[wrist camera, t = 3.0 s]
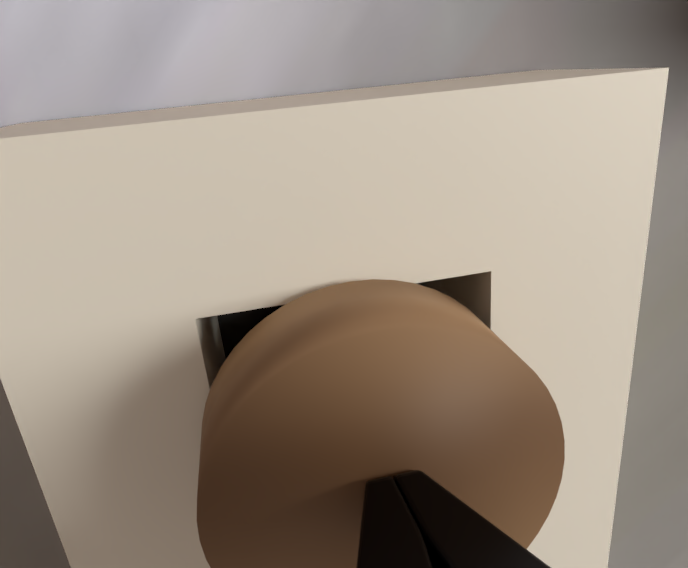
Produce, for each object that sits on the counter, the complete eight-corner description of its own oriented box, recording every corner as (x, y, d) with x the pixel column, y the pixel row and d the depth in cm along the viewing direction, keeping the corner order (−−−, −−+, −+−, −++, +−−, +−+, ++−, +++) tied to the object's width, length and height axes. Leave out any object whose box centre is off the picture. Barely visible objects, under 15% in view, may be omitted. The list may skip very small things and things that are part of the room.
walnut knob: (450, 427, 14) (554, 588, 10) (230, 473, 13) (232, 672, 9) (447, 214, 12) (577, 295, 7) (183, 251, 11) (156, 367, 7)
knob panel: (512, 695, 21) (574, 830, 17) (216, 782, 19) (214, 951, 15) (538, 70, 12) (668, 67, 9) (20, 123, 11) (-87, 147, 7)
